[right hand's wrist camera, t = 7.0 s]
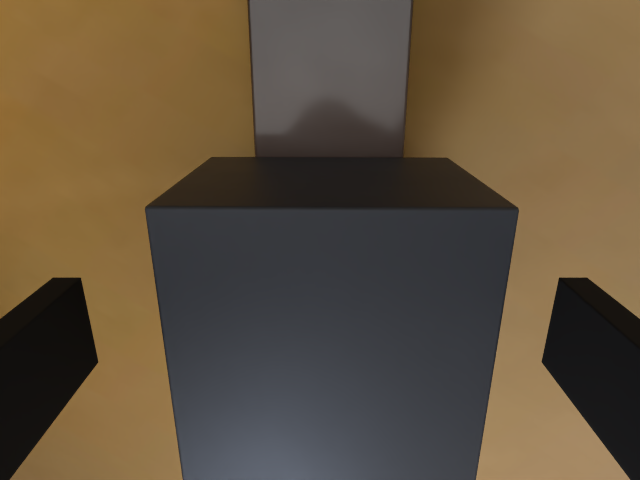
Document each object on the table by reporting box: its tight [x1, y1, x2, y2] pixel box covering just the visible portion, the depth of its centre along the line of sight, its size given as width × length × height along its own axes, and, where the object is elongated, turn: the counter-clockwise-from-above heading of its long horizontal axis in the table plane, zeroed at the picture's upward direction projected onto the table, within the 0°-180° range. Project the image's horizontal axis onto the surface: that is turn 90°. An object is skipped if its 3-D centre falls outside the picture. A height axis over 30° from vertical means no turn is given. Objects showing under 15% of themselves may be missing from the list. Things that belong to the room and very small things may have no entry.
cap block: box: [145, 157, 519, 480], centre depth 14 cm, size 8×8×6 cm
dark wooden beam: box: [247, 0, 413, 158], centre depth 16 cm, size 30×5×6 cm, turn 0°
